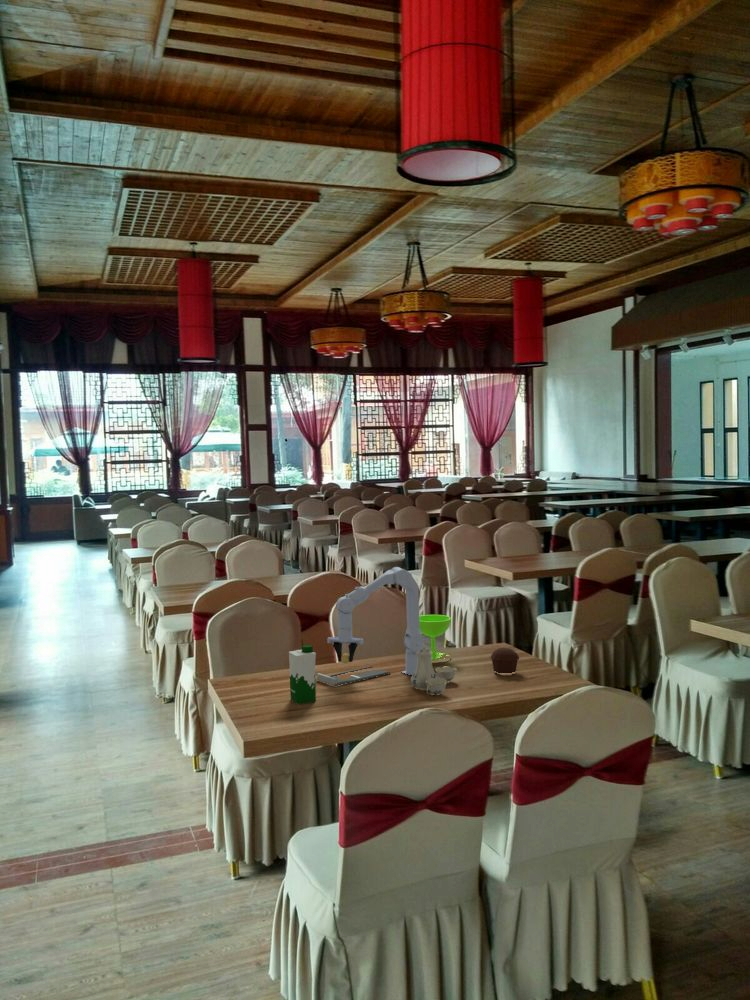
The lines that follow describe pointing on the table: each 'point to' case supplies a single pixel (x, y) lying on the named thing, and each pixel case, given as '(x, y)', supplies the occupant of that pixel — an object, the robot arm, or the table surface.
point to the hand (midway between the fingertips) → (345, 661)
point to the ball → (345, 658)
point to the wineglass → (434, 629)
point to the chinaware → (430, 674)
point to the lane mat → (356, 677)
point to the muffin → (504, 660)
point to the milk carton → (302, 675)
